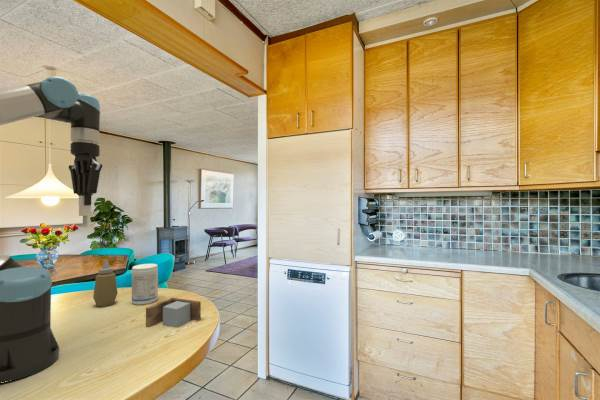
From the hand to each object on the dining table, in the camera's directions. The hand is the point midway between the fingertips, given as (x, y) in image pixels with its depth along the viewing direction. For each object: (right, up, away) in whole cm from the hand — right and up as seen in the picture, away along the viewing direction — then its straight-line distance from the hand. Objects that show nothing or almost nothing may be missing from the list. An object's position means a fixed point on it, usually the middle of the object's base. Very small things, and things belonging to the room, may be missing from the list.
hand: (84, 215), depth 91 cm
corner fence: (+27, -36, +3) cm, 46 cm away
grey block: (+28, -36, +3) cm, 46 cm away
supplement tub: (+6, -37, +25) cm, 45 cm away
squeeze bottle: (-8, -37, +22) cm, 44 cm away
